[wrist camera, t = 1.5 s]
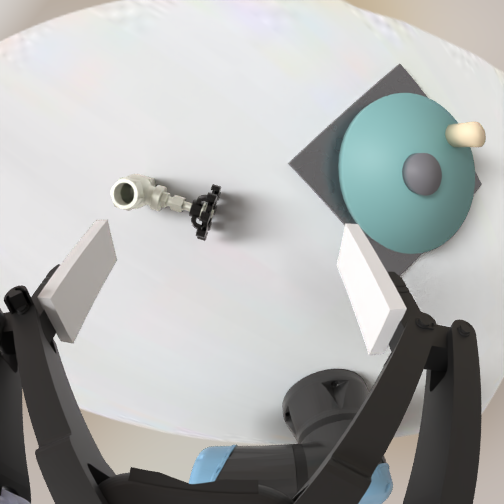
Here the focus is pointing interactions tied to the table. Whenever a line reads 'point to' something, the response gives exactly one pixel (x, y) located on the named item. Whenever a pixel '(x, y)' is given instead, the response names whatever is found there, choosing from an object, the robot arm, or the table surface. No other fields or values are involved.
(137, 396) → the table surface
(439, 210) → the handwheel
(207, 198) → the valve
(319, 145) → the wheel stand
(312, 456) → the robot arm
